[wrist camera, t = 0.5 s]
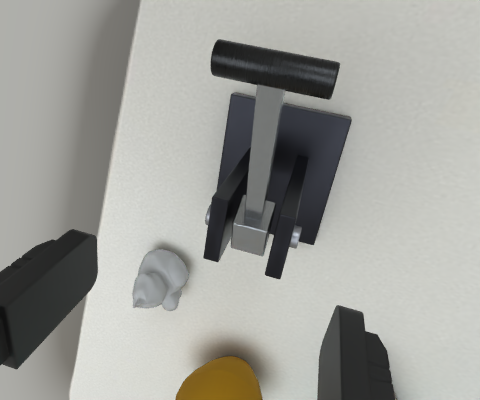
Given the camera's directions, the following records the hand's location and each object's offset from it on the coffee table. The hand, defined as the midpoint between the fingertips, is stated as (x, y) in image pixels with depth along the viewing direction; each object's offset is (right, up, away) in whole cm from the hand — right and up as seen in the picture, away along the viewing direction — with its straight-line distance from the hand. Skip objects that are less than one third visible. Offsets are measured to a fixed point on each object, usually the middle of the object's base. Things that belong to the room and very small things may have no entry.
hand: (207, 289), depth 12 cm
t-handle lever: (+3, +5, +8) cm, 10 cm away
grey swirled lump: (-6, -4, +29) cm, 30 cm away
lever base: (+4, +6, +21) cm, 22 cm away
